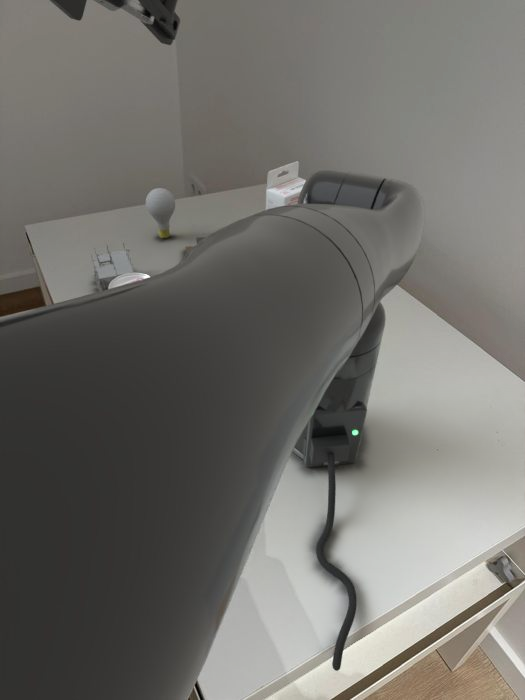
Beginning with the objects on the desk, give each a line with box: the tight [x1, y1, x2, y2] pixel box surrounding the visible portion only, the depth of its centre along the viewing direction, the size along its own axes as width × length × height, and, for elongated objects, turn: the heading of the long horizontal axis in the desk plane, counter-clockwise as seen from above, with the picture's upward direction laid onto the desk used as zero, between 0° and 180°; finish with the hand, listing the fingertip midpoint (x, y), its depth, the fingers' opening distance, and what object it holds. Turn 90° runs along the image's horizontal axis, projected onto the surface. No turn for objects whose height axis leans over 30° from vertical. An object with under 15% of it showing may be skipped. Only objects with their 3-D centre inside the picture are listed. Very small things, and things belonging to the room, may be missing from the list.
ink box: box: [265, 160, 307, 210], centre depth 96 cm, size 8×5×15 cm, turn 134°
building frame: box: [90, 241, 135, 292], centre depth 87 cm, size 6×8×6 cm
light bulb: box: [145, 187, 176, 239], centre depth 99 cm, size 6×6×10 cm
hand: (125, 19), depth 41 cm, fingers open, 8 cm apart
